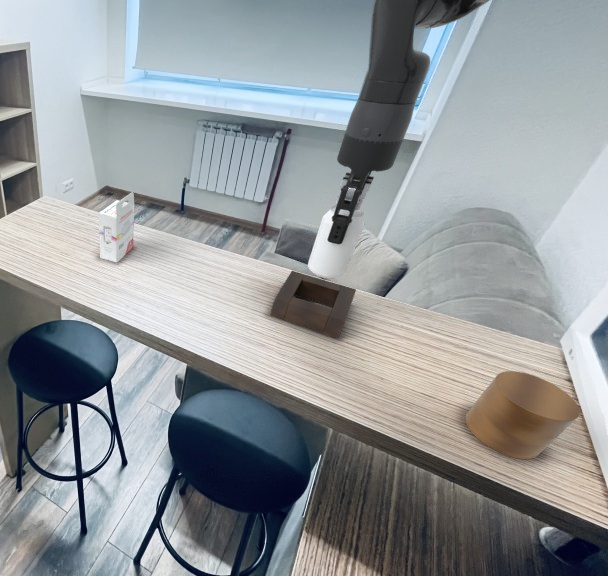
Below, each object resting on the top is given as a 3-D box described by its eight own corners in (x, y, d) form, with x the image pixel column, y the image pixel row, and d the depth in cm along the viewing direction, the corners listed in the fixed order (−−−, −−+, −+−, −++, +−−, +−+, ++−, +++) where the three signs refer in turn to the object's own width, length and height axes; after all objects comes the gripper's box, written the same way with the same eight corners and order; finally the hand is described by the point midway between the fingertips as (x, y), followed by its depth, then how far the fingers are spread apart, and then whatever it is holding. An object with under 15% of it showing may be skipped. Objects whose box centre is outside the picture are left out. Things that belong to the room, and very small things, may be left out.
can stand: (349, 305, 80) (356, 289, 78) (337, 338, 72) (345, 321, 70) (287, 286, 86) (291, 270, 84) (270, 315, 78) (274, 298, 76)
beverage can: (329, 285, 70) (353, 222, 63) (298, 269, 75) (317, 208, 68) (351, 275, 73) (376, 213, 66) (320, 260, 77) (340, 200, 70)
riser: (546, 436, 56) (586, 398, 51) (531, 471, 52) (573, 432, 47) (475, 400, 61) (505, 362, 56) (456, 429, 57) (487, 390, 52)
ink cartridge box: (116, 243, 103) (116, 187, 94) (133, 247, 100) (136, 190, 92) (98, 258, 97) (97, 199, 88) (116, 263, 94) (117, 204, 86)
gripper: (399, 148, 53) (356, 258, 63) (408, 125, 63) (369, 224, 72) (337, 140, 57) (304, 245, 67) (354, 120, 67) (323, 214, 76)
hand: (338, 234), depth 69 cm, fingers closed on beverage can, 6 cm apart
